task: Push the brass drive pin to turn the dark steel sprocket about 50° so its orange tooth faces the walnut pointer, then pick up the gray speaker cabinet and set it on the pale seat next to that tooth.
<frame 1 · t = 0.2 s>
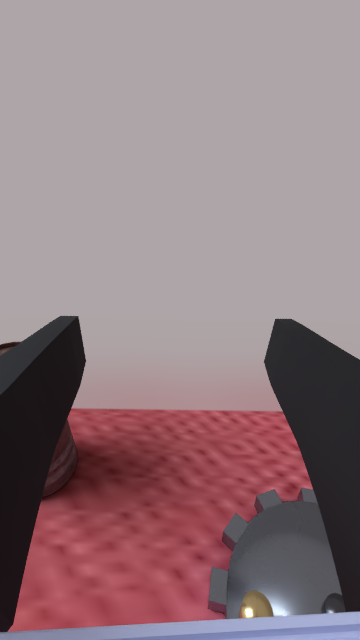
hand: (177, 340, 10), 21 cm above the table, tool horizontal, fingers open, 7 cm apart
sprocket: (338, 615, 18), point 2 cm above the table, hinge at 0.0°
can: (46, 471, 28), on the table
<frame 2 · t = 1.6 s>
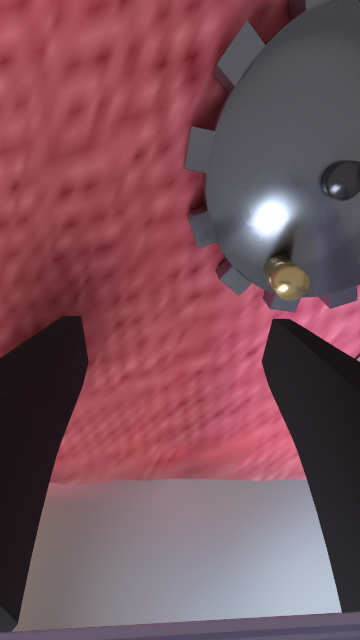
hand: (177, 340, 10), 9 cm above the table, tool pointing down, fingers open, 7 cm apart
sprocket: (342, 180, 14), point 2 cm above the table, hinge at 0.0°
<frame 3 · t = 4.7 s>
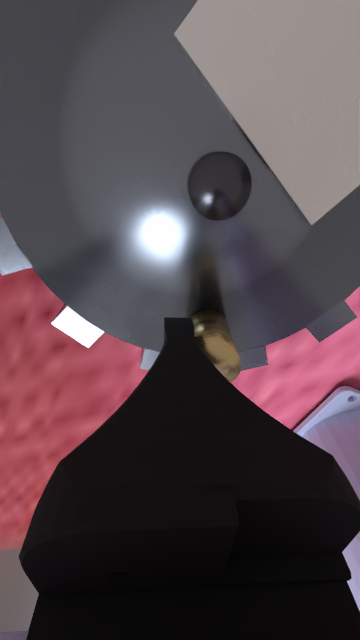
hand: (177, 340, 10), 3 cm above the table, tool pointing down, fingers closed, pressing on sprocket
sprocket: (217, 186, 8), point 2 cm above the table, hinge at 25.5°, touching gripper
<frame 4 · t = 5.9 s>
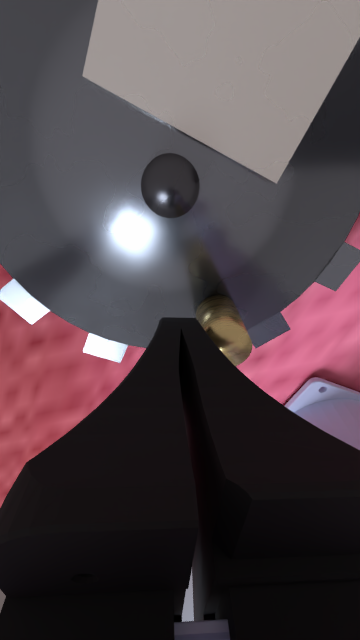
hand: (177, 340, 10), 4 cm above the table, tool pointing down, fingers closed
sprocket: (170, 185, 9), point 2 cm above the table, hinge at 45.5°
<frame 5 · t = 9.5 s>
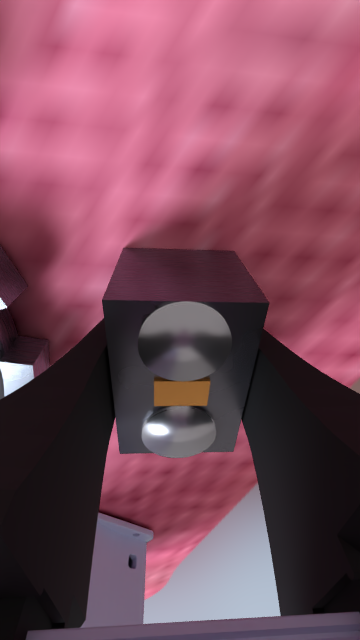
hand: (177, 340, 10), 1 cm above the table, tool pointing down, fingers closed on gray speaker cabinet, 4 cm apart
gray speaker cabinet: (176, 320, 12), on the table, touching gripper
when the fingers open (4 cm above the table, at t = 12.5 s): gray speaker cabinet drops 1 cm, resting on sprocket.
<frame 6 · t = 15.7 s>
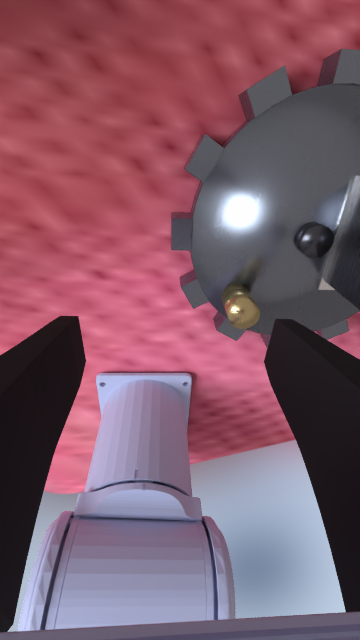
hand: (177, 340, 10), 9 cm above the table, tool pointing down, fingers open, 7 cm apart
sprocket: (313, 239, 16), point 2 cm above the table, hinge at 45.6°, touching gray speaker cabinet
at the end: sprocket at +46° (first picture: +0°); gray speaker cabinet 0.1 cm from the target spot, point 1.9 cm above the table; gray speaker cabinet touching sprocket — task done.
